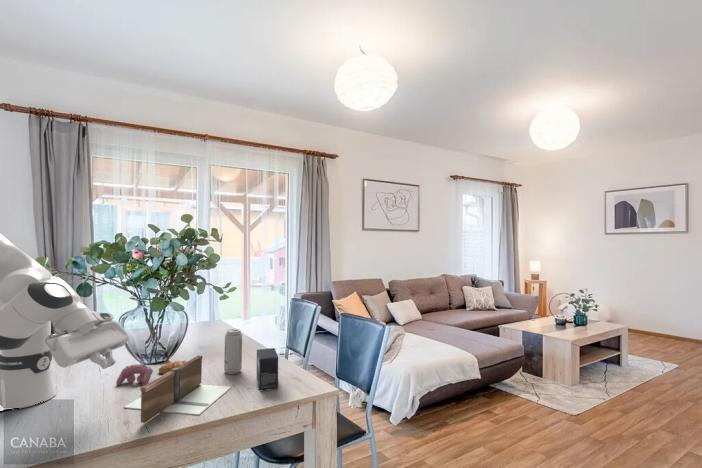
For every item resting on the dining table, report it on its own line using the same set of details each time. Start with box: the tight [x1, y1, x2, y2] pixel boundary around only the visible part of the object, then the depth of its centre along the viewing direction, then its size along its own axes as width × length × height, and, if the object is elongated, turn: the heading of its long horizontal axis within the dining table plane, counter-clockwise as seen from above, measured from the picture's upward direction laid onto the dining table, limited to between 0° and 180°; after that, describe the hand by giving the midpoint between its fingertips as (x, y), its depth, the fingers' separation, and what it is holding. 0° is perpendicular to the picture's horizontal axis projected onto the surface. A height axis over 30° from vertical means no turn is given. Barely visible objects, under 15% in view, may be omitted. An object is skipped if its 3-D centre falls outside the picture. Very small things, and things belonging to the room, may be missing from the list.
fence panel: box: [140, 371, 175, 424], centre depth 103 cm, size 2×12×9 cm, turn 171°
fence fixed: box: [171, 355, 203, 403], centre depth 116 cm, size 2×14×10 cm, turn 171°
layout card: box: [123, 383, 232, 416], centre depth 114 cm, size 23×19×1 cm
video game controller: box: [115, 363, 154, 387], centre depth 125 cm, size 10×5×7 cm, turn 92°
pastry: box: [158, 360, 187, 375], centre depth 136 cm, size 9×7×4 cm
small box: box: [256, 347, 279, 391], centre depth 126 cm, size 11×6×10 cm, turn 19°
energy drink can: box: [223, 328, 243, 375], centre depth 136 cm, size 6×6×15 cm
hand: (109, 365), depth 101 cm, fingers closed
